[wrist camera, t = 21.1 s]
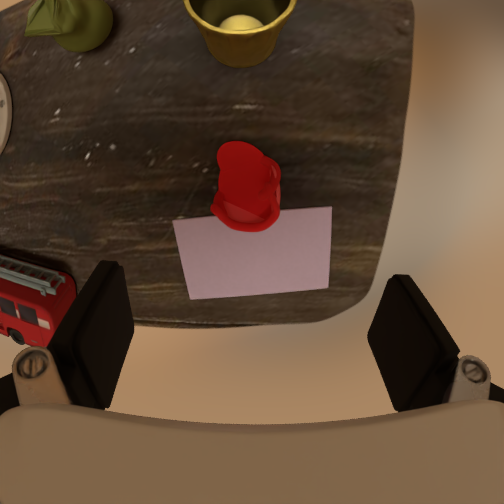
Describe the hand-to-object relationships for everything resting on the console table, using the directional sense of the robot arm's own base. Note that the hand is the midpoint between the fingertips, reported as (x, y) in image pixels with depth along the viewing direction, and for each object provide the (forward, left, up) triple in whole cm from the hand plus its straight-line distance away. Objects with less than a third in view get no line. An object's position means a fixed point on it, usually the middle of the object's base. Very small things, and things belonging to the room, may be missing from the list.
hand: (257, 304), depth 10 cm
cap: (0, -3, -15) cm, 15 cm away
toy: (-35, -15, -16) cm, 42 cm away
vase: (+1, +12, -20) cm, 24 cm away
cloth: (0, -10, -20) cm, 23 cm away
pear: (-13, +16, -20) cm, 29 cm away
